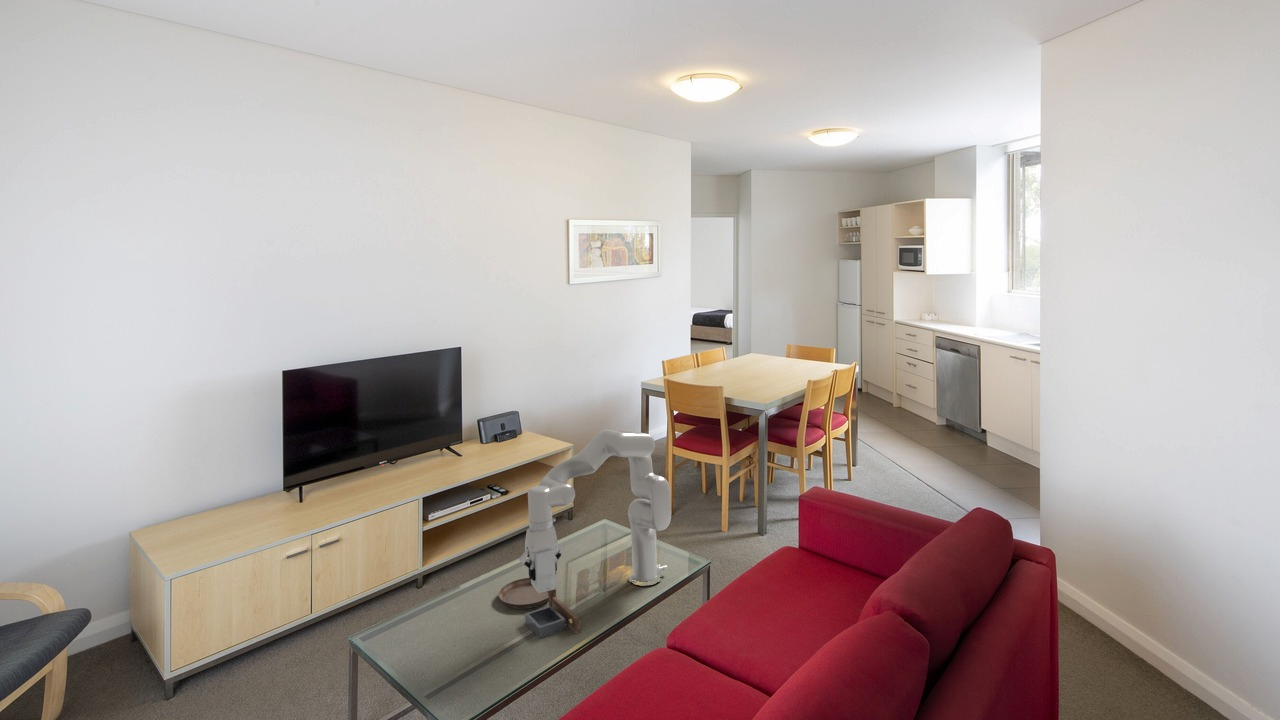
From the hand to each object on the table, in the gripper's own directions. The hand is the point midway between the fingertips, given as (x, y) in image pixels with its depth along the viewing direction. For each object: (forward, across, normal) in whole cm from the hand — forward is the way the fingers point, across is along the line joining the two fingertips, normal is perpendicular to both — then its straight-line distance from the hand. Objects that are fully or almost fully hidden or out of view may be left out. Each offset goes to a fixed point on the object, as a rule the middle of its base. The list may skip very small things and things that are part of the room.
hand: (543, 575), depth 211 cm
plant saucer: (+18, -3, -22) cm, 29 cm away
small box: (+4, 0, 0) cm, 4 cm away
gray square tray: (+18, 0, 0) cm, 18 cm away
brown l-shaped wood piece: (+18, -7, 0) cm, 19 cm away
